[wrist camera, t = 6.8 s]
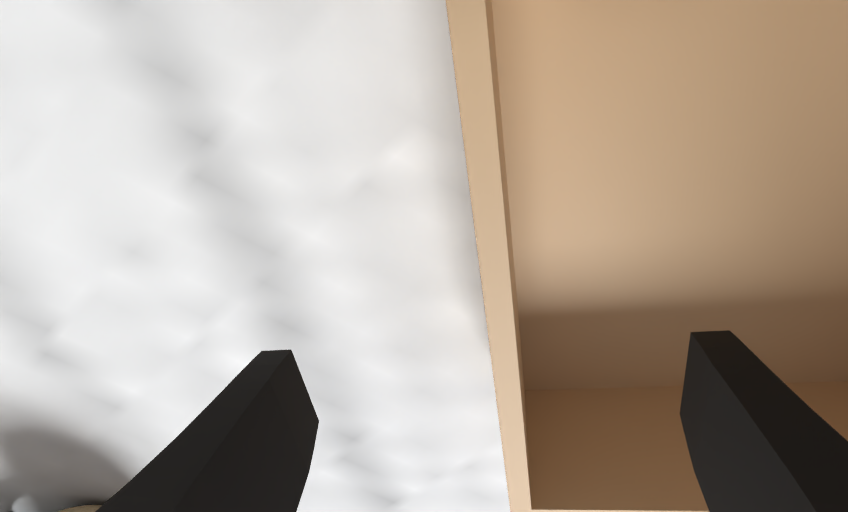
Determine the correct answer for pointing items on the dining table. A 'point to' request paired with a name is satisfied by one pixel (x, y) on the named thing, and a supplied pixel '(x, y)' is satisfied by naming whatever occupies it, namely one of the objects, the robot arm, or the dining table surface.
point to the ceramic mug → (82, 508)
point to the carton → (650, 223)
